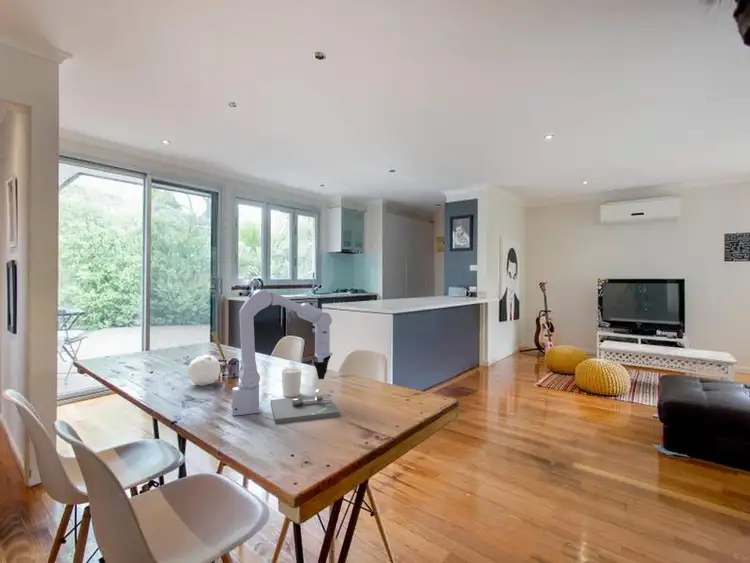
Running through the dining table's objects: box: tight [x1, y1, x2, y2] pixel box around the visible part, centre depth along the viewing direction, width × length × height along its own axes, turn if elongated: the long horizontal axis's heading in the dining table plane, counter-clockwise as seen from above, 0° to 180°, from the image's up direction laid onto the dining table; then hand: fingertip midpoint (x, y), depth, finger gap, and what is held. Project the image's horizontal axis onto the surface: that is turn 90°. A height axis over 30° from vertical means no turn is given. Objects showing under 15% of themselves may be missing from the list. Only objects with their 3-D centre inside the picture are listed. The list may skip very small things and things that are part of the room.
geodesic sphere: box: [187, 354, 221, 387], centre depth 167 cm, size 14×14×14 cm
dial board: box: [269, 394, 340, 424], centre depth 137 cm, size 22×20×2 cm
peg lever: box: [292, 388, 332, 406], centre depth 139 cm, size 14×4×4 cm, turn 110°
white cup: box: [281, 367, 302, 398], centre depth 154 cm, size 8×8×10 cm
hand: (322, 376), depth 148 cm, fingers open, 7 cm apart
